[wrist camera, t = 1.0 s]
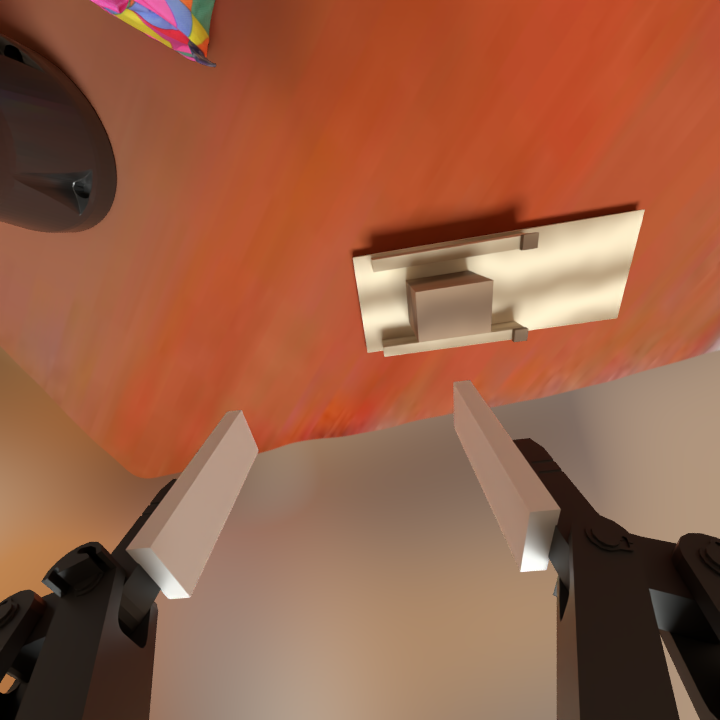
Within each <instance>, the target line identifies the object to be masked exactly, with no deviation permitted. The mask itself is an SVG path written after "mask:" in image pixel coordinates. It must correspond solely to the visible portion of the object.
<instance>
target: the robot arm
mask: <svg viewBox="0 0 720 720" xmlns="http://www.w3.org/2000/svg"><path fill="white" fill-rule="evenodd" d="M115 192H116V167H115V161H114V157H113V152H112V149H111V146H110V143H109V140H108V137H107V135H106V132H105V130H104V128H103V126H102V124H101V122H100V120H99V118H98V116H97V115H96V113H95V111H94V110H93V108H92V107H91V105H90V104H89V102H88V101H87V99H86V98H85V97H84V95H83V94H82V93H81V92H80V90H79V89H78V88H77V87H76V86H75V84H74V83H73V82H72V81H71V80H70V79H69V78H68V77H67V76H66V75H65V74H64V73H63V72H62V71H61V70H60V69H58V68H57V67H56V66H55V65H54V64H52V63H51V62H50V61H48V60H47V59H46V58H44V57H43V56H41V55H40V54H38V53H37V52H35V51H33V50H31V49H29V48H28V47H26V46H24V45H22V44H20V43H18V42H16V41H15V40H13V39H11V38H9V37H7V36H5V35H3V34H1V33H0V221H1V222H5V223H8V224H12V225H15V226H19V227H22V228H26V229H30V230H34V231H40V232H51V233H58V232H79V231H84V230H87V229H89V228H91V227H93V226H95V225H97V224H98V223H99V222H100V221H101V220H102V219H103V218H104V217H105V216H106V215H107V213H108V212H109V210H110V208H111V206H112V203H113V200H114V197H115ZM454 428H455V430H456V433H457V435H458V437H459V439H460V441H461V444H462V446H463V448H464V450H465V452H466V455H467V457H468V459H469V461H470V463H471V465H472V467H473V470H474V472H475V474H476V476H477V479H478V481H479V483H480V485H481V487H482V489H483V491H484V494H485V496H486V498H487V500H488V503H489V505H490V507H491V509H492V511H493V513H494V516H495V518H496V520H497V522H498V524H499V527H500V529H501V531H502V533H503V535H504V537H505V540H506V542H507V544H508V546H509V548H510V551H511V552H512V555H513V557H514V559H515V561H516V564H517V566H518V568H519V570H520V572H525V571H538V570H547V566H548V562H549V559H550V561H551V562H552V564H553V566H554V568H555V570H556V571H557V573H558V578H557V582H556V586H555V590H554V593H553V595H554V596H556V597H557V720H680V719H679V715H678V711H677V707H676V702H675V698H674V693H673V690H672V685H671V680H670V676H669V672H668V667H667V663H666V659H665V655H664V650H663V646H662V642H661V638H660V635H661V637H662V639H663V641H664V644H665V646H666V648H667V650H668V652H669V654H670V657H671V658H672V661H673V663H674V665H675V667H676V669H677V672H678V674H679V676H680V678H681V680H682V682H683V684H684V686H685V688H686V691H687V693H688V695H689V697H690V699H691V701H692V703H693V706H694V708H695V710H696V712H697V714H698V716H699V718H700V720H720V539H718V538H716V537H712V536H709V535H704V534H700V533H688V534H686V535H684V536H682V537H680V539H679V541H678V543H677V544H676V543H671V542H666V541H661V540H655V539H651V538H645V537H640V536H637V535H634V534H630V533H628V532H627V531H626V530H625V529H624V528H623V527H621V526H620V525H618V524H617V523H615V522H614V521H612V520H609V519H607V518H605V517H603V516H600V515H599V514H598V513H597V512H596V511H595V510H594V508H593V507H592V506H591V505H590V504H589V502H588V501H587V500H586V499H585V497H584V496H583V495H582V494H581V493H580V492H579V490H578V489H577V488H576V487H575V485H574V484H573V483H572V482H571V480H570V479H569V478H568V477H567V476H566V474H565V473H564V472H562V471H561V468H560V467H559V466H558V465H557V463H556V462H554V461H553V459H552V457H551V456H550V455H549V454H548V452H547V451H546V450H545V449H544V448H543V447H542V446H540V445H539V444H537V443H536V442H534V441H533V440H531V439H530V438H528V439H518V440H512V439H511V438H510V436H509V435H508V434H507V432H506V431H505V429H504V428H503V426H502V425H501V424H500V422H499V421H498V419H497V418H496V417H495V415H494V414H493V412H492V411H491V409H490V408H489V407H488V405H487V404H486V402H485V401H484V399H483V398H482V397H481V395H480V394H479V392H478V391H477V389H476V388H475V387H474V385H473V384H472V382H471V381H470V380H467V381H459V382H454ZM258 451H259V450H258V448H257V446H256V443H255V441H254V438H253V436H252V434H251V431H250V429H249V427H248V424H247V422H246V419H245V417H244V415H243V412H242V410H237V411H229V412H227V413H226V414H225V415H224V417H223V418H222V419H221V421H220V422H219V423H218V425H217V426H216V428H215V429H214V430H213V432H212V433H211V434H210V436H209V437H208V438H207V440H206V441H205V443H204V444H203V445H202V447H201V448H200V449H199V451H198V452H197V453H196V455H195V456H194V457H193V459H192V460H191V462H190V463H189V464H188V466H187V467H186V468H185V470H184V471H183V472H182V474H181V475H180V477H179V478H178V479H173V480H172V481H170V482H169V483H168V484H167V485H166V486H165V487H164V488H162V489H161V490H160V491H159V493H158V494H157V495H156V497H155V498H154V499H153V500H152V502H151V504H150V506H148V507H147V508H146V509H145V511H144V512H143V513H142V514H143V515H142V516H140V517H139V518H138V520H137V521H136V522H135V524H134V525H133V527H132V528H131V529H130V530H129V532H128V533H127V534H126V535H125V537H124V538H123V539H122V541H121V542H120V543H119V545H118V546H117V547H116V549H115V550H114V551H113V552H112V554H110V553H109V552H108V551H107V550H106V549H105V548H104V547H103V546H102V545H101V544H100V543H99V542H89V543H86V544H84V545H81V546H79V547H77V548H76V549H74V550H72V551H71V552H69V553H68V554H66V555H65V556H64V557H63V558H61V559H60V560H59V561H58V562H57V563H56V564H55V565H54V566H53V567H52V568H51V569H50V570H49V571H48V572H47V574H46V576H45V577H44V578H43V580H42V583H44V584H45V585H46V586H47V587H49V588H50V589H51V590H52V591H53V592H54V593H51V594H49V595H46V596H44V597H40V596H39V595H38V594H36V593H35V592H33V591H31V590H24V591H20V592H18V593H16V594H14V595H12V596H10V597H8V598H7V599H5V600H3V601H2V602H1V603H0V683H1V681H2V679H3V678H4V676H5V674H8V675H10V676H11V677H13V678H15V679H16V680H15V681H14V683H13V685H12V686H11V687H10V689H9V690H8V692H7V693H5V694H2V693H1V692H0V720H149V713H150V700H151V688H152V676H153V664H154V652H155V640H156V628H157V616H158V609H157V604H156V603H155V602H154V600H155V598H156V597H157V595H158V593H159V591H160V590H161V591H162V592H163V593H164V594H165V595H166V596H167V597H168V599H176V598H189V597H191V595H192V593H193V591H194V589H195V586H196V584H197V582H198V580H199V578H200V576H201V574H202V571H203V569H204V567H205V565H206V563H207V561H208V558H209V556H210V554H211V552H212V550H213V548H214V546H215V543H216V541H217V539H218V537H219V535H220V533H221V531H222V528H223V526H224V524H225V522H226V520H227V518H228V516H229V513H230V511H231V509H232V507H233V505H234V503H235V500H236V498H237V496H238V494H239V492H240V490H241V488H242V485H243V483H244V481H245V479H246V477H247V475H248V472H249V470H250V468H251V466H252V464H253V462H254V460H255V458H256V455H257V453H258Z"/></svg>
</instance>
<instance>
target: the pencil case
mask: <svg viewBox="0 0 720 720" xmlns="http://www.w3.org/2000/svg"><path fill="white" fill-rule="evenodd" d="M90 1H92V2H94V3H96V4H97V5H98V6H100V7H101V8H102V9H104V10H105V11H107V12H108V13H110V14H112V15H113V16H115V17H117V18H119V19H121V20H123V21H124V22H126V23H127V24H129V25H131V26H133V27H135V28H136V29H138V30H140V31H142V32H144V33H145V34H146V35H148V36H149V37H151V38H153V39H155V40H157V41H159V42H161V43H163V44H165V45H166V46H168V47H170V48H171V49H173V50H175V51H177V52H178V53H180V54H181V55H183V56H184V57H186V58H188V59H190V60H192V61H197V62H198V63H200V64H203V65H206V66H210V67H216V64H214V63H212V62H211V61H209V60H208V59H207V58H206V57H207V48H208V43H209V29H210V20H211V15H212V11H213V7H214V3H215V0H90Z"/></svg>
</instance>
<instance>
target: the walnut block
mask: <svg viewBox="0 0 720 720" xmlns="http://www.w3.org/2000/svg"><path fill="white" fill-rule="evenodd" d="M493 282H494V280H492V279H489V278H487V277H484V276H482V275H479V274H477V273H474V272H472V271H469V270H467V271H461V272H454V273H448V274H442V275H435V276H429V277H423V278H416V279H410V280H406V292H407V304H408V317H409V323H410V325H411V327H412V329H413V331H414V333H415V336H416V338H417V340H418V342H425V341H432V340H439V339H447V338H454V337H461V336H468V335H475V334H482V333H490V332H491V321H492V301H493Z"/></svg>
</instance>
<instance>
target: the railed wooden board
mask: <svg viewBox="0 0 720 720" xmlns="http://www.w3.org/2000/svg"><path fill="white" fill-rule="evenodd" d="M644 211H645V210H634V211H628V212H622V213H616V214H610V215H604V216H597V217H591V218H585V219H579V220H573V221H567V222H561V223H555V224H549V225H543V226H537V227H531V228H525V229H519V230H513V231H507V232H501V233H495V234H489V235H483V236H477V237H471V238H465V239H459V240H453V241H447V242H441V243H435V244H429V245H423V246H417V247H411V248H405V249H399V250H393V251H387V252H381V253H375V254H369V255H363V256H357V257H353V263H354V269H355V275H356V282H357V288H358V294H359V301H360V307H361V313H362V320H363V326H364V332H365V339H366V345H367V351H368V353H369V352H377V351H384V357H387V356H394V355H401V354H408V353H416V352H423V351H430V350H438V349H445V348H452V347H459V346H467V345H474V344H481V343H489V342H496V341H503V340H510V339H512V341H513V342H519V341H526V340H527V337H528V330H535V329H542V328H549V327H557V326H564V325H571V324H578V323H585V322H593V321H600V320H607V319H614V318H617V316H618V312H619V309H620V305H621V301H622V297H623V293H624V289H625V285H626V281H627V277H628V273H629V269H630V265H631V262H632V258H633V254H634V250H635V246H636V242H637V238H638V234H639V230H640V226H641V222H642V218H643V215H644ZM467 270H469V271H472V272H474V273H477V274H479V275H482V276H484V277H487V278H489V279H492V280H494V282H493V301H492V321H491V332H490V333H482V334H475V335H468V336H461V337H454V338H447V339H439V340H432V341H425V342H418V340H417V338H416V336H415V333H414V331H413V329H412V327H411V325H410V323H409V317H408V304H407V292H406V280H410V279H416V278H423V277H429V276H435V275H442V274H448V273H454V272H461V271H467Z"/></svg>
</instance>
